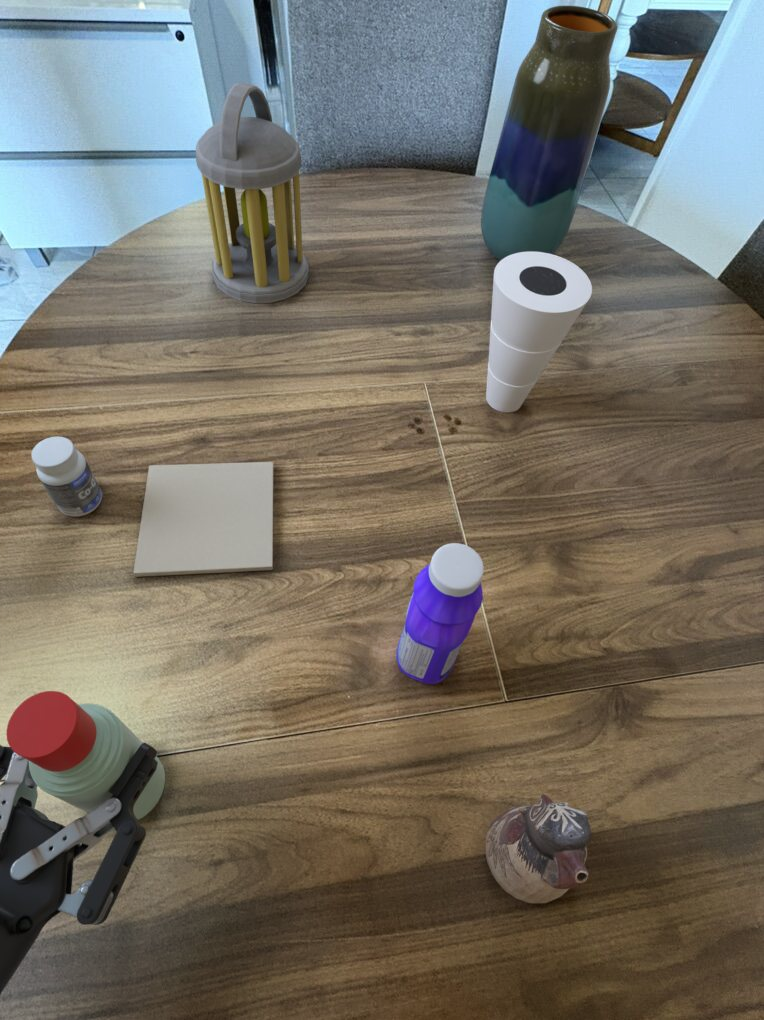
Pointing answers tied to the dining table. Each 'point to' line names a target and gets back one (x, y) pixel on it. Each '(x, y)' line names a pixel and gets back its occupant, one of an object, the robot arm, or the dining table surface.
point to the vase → (548, 133)
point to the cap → (51, 731)
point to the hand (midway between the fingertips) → (112, 727)
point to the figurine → (539, 850)
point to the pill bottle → (66, 476)
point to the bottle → (440, 613)
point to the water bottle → (101, 768)
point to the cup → (529, 321)
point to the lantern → (253, 201)
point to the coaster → (206, 519)
